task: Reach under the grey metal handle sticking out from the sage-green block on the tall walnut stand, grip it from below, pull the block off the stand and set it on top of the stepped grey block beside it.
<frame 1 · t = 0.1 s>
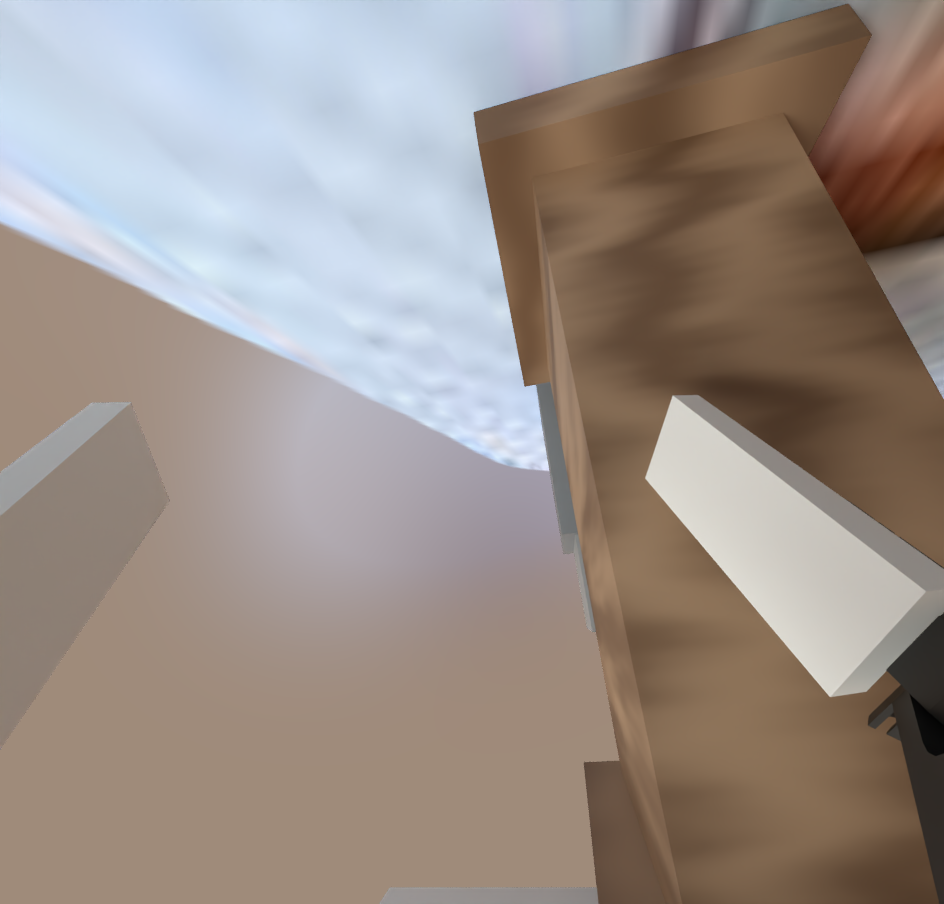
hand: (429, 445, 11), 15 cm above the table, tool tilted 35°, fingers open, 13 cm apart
walnut stand: (620, 256, 26), on the table
stepped grey block: (600, 395, 43), on the table
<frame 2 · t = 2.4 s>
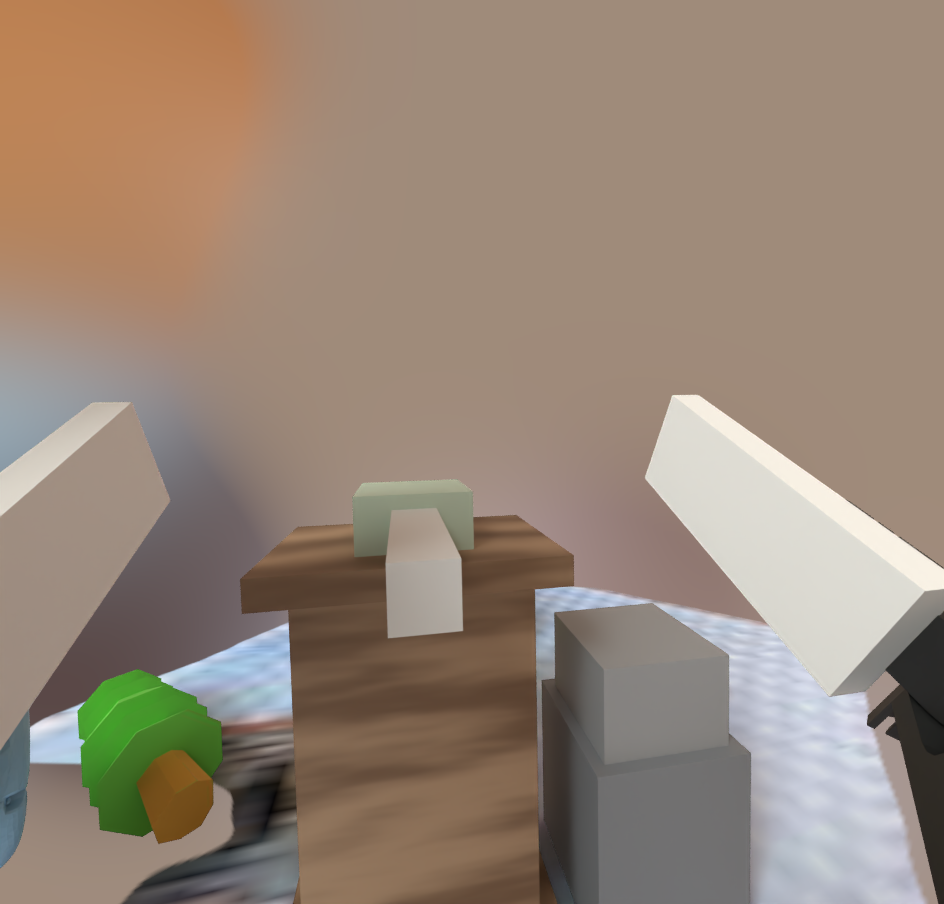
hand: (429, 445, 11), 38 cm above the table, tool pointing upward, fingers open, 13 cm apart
handled block: (413, 538, 33), point 30 cm above the table, touching walnut stand
stepped grey block: (633, 868, 37), on the table
decorative tree: (148, 779, 49), on the table
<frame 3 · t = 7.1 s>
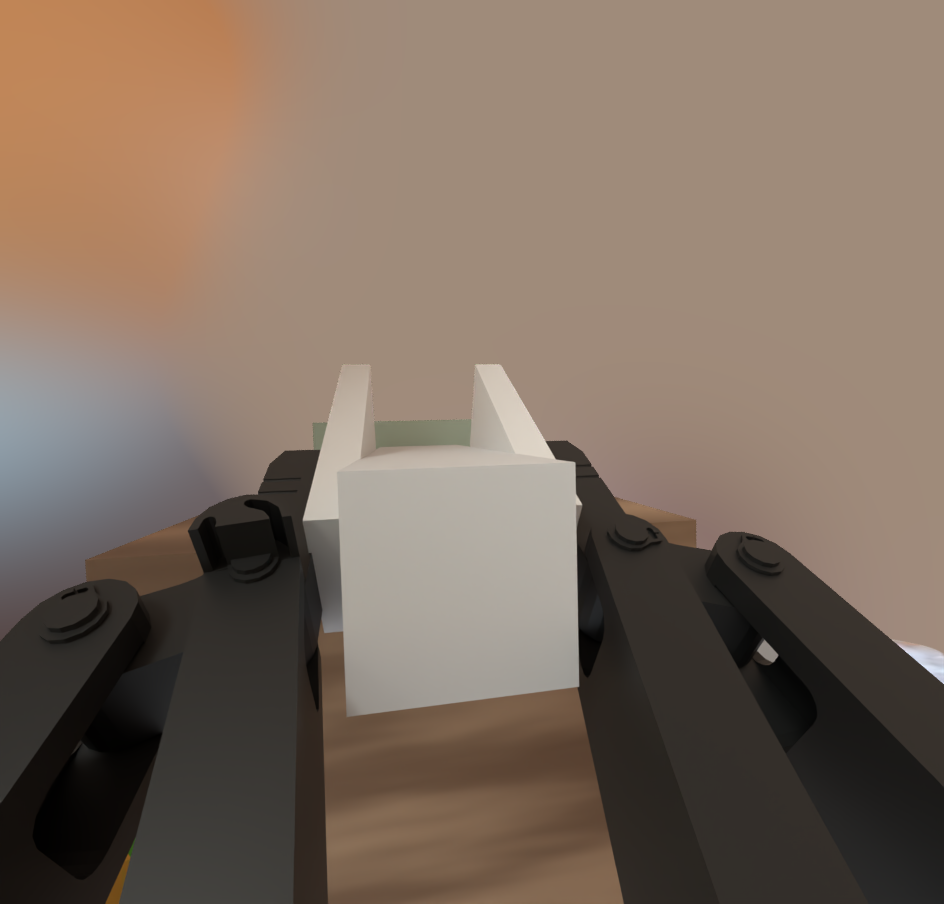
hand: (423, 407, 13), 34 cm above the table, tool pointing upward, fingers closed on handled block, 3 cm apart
handled block: (417, 504, 21), point 30 cm above the table, touching gripper, walnut stand
decorative tree: (65, 842, 37), on the table
when the fingers open (27 cm above the table, at t = 15.1 s): handled block drops 1 cm, resting on stepped grey block.
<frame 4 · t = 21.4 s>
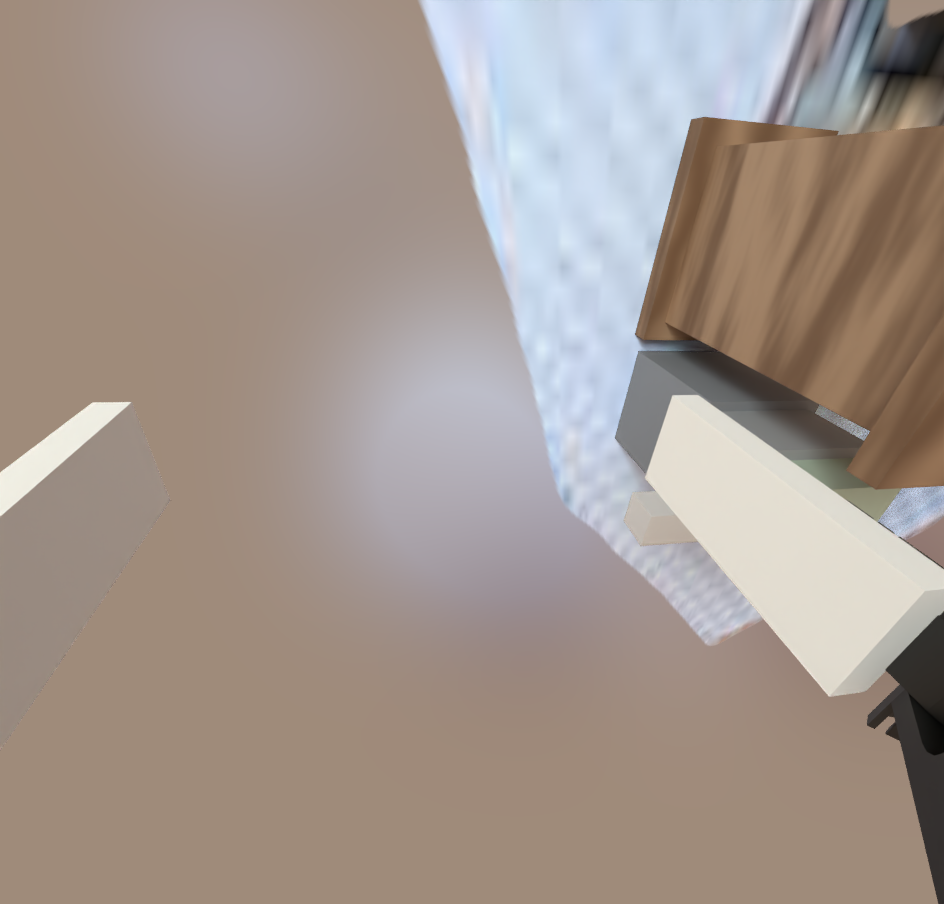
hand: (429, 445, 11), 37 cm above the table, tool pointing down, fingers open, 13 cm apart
walnut stand: (719, 242, 46), on the table
handled block: (795, 497, 38), point 21 cm above the table, touching stepped grey block
stepped grey block: (669, 396, 56), on the table
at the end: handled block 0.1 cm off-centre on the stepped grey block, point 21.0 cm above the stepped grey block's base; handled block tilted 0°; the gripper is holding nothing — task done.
